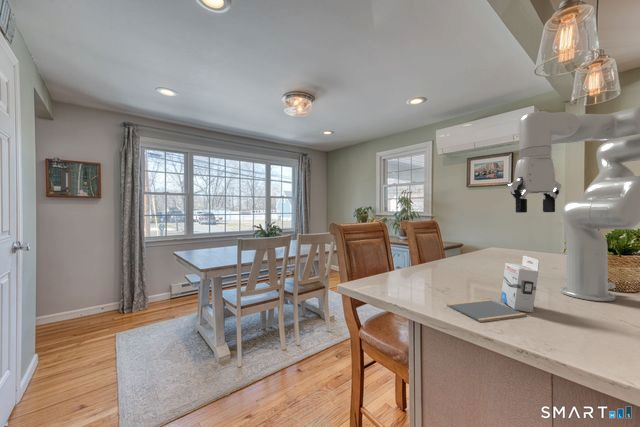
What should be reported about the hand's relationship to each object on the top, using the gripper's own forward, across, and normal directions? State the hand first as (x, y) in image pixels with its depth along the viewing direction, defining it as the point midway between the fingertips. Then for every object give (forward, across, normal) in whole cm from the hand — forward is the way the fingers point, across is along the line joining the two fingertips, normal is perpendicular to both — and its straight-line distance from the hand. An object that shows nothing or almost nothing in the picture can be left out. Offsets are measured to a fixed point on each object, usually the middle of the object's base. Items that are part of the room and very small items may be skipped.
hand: (535, 212), depth 80 cm
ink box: (+28, +8, +1) cm, 29 cm away
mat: (+28, +18, +2) cm, 33 cm away
